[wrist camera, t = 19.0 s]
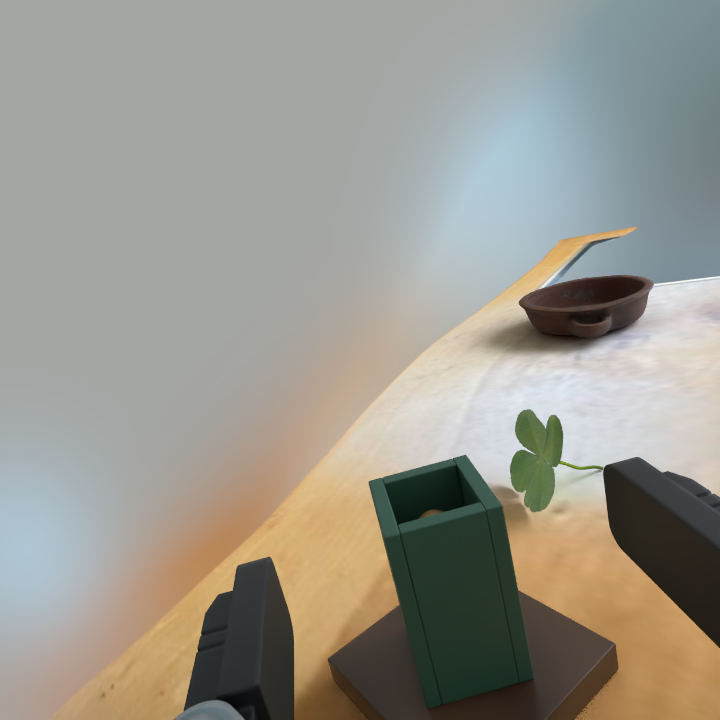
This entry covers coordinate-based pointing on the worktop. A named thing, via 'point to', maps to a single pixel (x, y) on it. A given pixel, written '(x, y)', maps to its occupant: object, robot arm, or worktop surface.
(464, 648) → the sleeve
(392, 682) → the brown peg stand
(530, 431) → the green leafy piece
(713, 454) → the worktop surface
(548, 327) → the dish
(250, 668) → the robot arm
